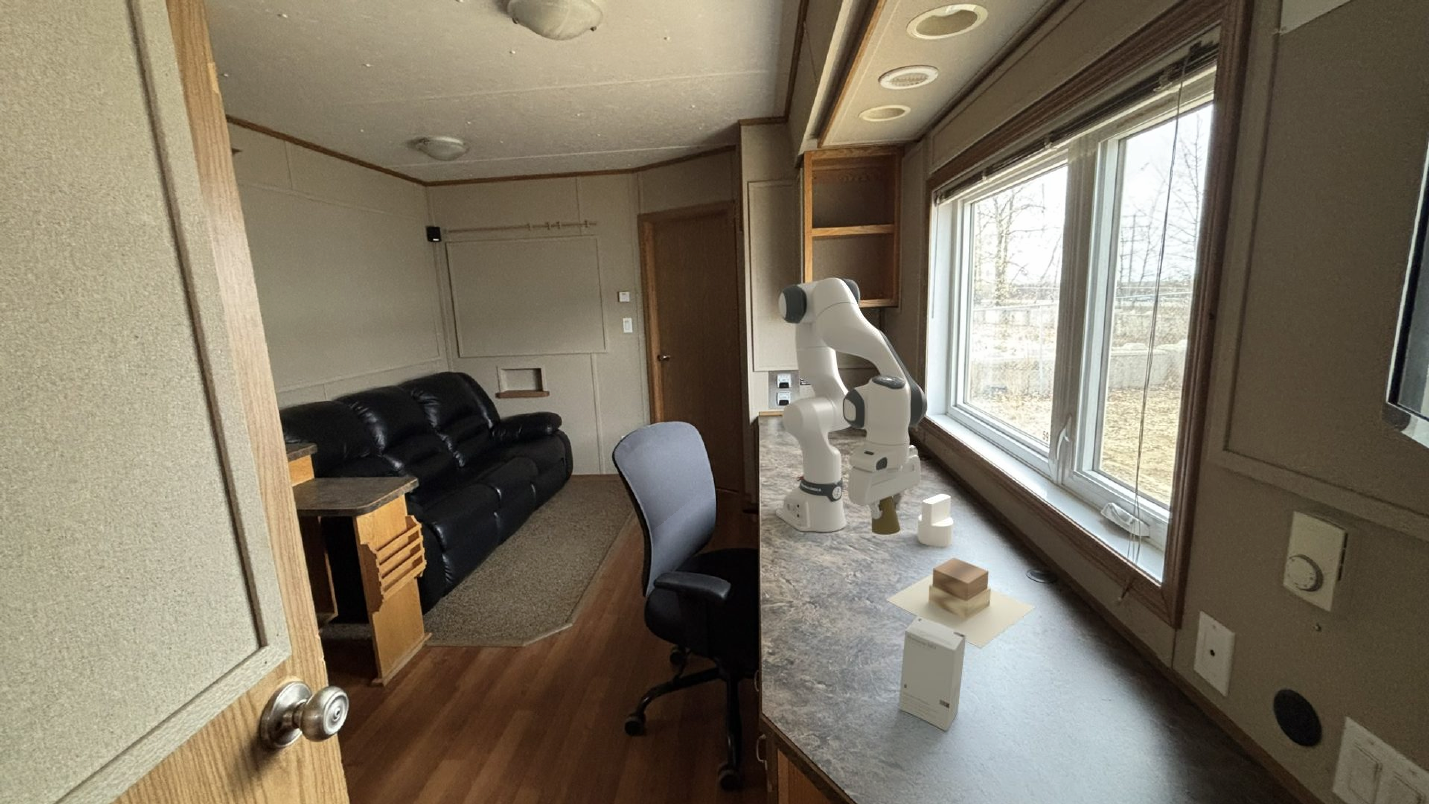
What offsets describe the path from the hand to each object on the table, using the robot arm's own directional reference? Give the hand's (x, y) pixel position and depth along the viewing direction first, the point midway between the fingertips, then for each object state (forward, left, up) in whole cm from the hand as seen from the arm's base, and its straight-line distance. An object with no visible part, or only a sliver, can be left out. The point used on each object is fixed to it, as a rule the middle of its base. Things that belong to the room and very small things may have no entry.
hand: (885, 514), depth 120 cm
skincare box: (+25, -21, -21) cm, 39 cm away
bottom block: (+11, +11, -20) cm, 26 cm away
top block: (+11, +11, -16) cm, 23 cm away
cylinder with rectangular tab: (-11, +36, -21) cm, 43 cm away
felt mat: (+11, +11, -21) cm, 26 cm away
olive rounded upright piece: (0, 0, -4) cm, 4 cm away
